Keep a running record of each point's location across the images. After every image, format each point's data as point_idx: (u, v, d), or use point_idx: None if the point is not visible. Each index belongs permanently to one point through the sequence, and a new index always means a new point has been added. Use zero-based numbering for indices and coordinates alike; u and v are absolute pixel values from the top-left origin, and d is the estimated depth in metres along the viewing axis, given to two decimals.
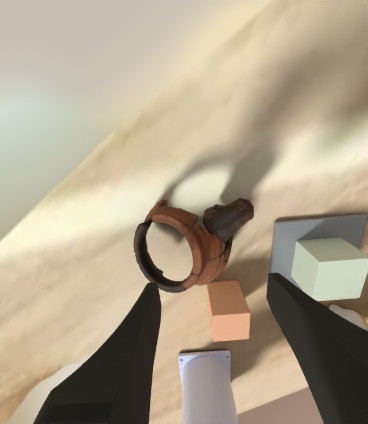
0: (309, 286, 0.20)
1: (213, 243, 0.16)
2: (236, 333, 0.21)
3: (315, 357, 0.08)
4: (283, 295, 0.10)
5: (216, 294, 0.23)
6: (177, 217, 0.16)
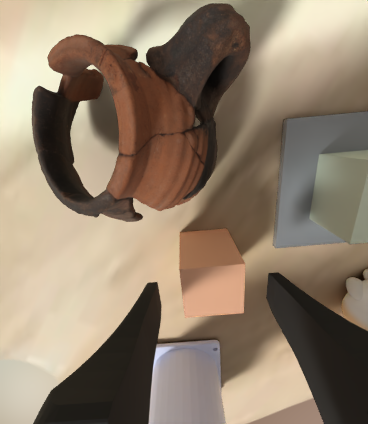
0: (346, 218, 0.12)
1: (167, 99, 0.08)
2: (223, 303, 0.13)
3: (315, 357, 0.08)
4: (283, 295, 0.10)
5: (191, 244, 0.14)
6: None
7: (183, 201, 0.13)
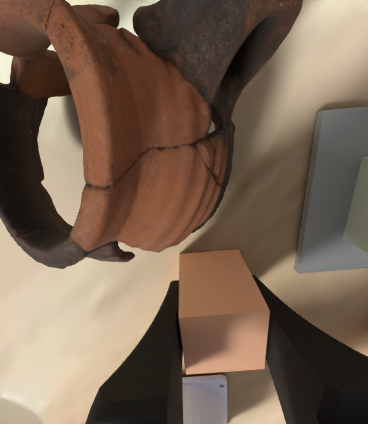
0: None
1: (168, 90, 0.05)
2: (237, 357, 0.10)
3: (279, 359, 0.08)
4: None
5: (194, 273, 0.11)
6: None
7: None
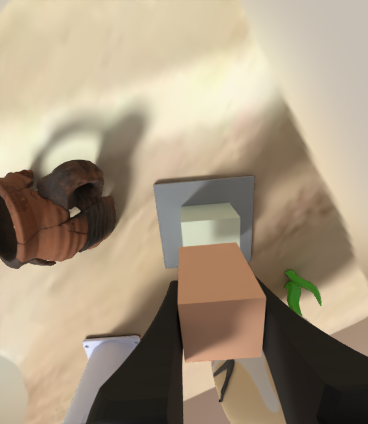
0: None
1: (47, 209, 0.14)
2: (235, 345, 0.10)
3: (279, 360, 0.08)
4: None
5: (193, 265, 0.11)
6: (4, 180, 0.14)
7: (91, 247, 0.20)
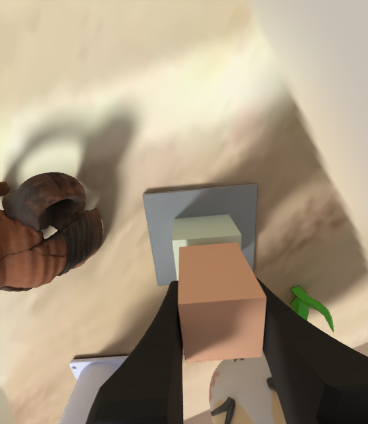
0: None
1: (14, 232, 0.12)
2: (235, 345, 0.10)
3: (279, 360, 0.08)
4: None
5: (193, 265, 0.11)
6: None
7: (75, 267, 0.18)
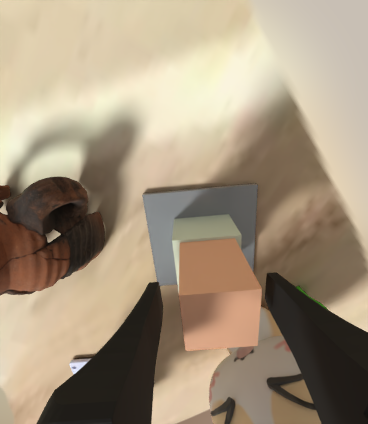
0: None
1: (18, 236, 0.12)
2: (232, 334, 0.10)
3: (313, 357, 0.08)
4: (281, 295, 0.10)
5: (193, 259, 0.12)
6: None
7: (77, 269, 0.18)
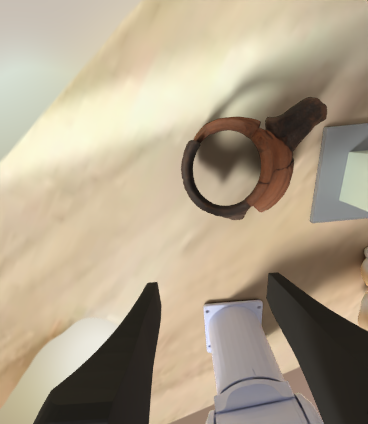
0: None
1: (281, 150, 0.14)
2: None
3: (315, 357, 0.08)
4: (283, 295, 0.10)
5: None
6: None
7: None
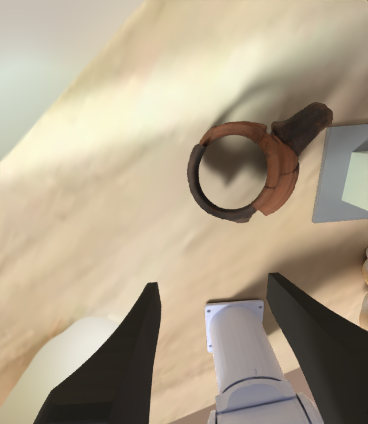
0: None
1: (287, 154, 0.14)
2: None
3: (315, 357, 0.08)
4: (283, 295, 0.10)
5: None
6: None
7: None
